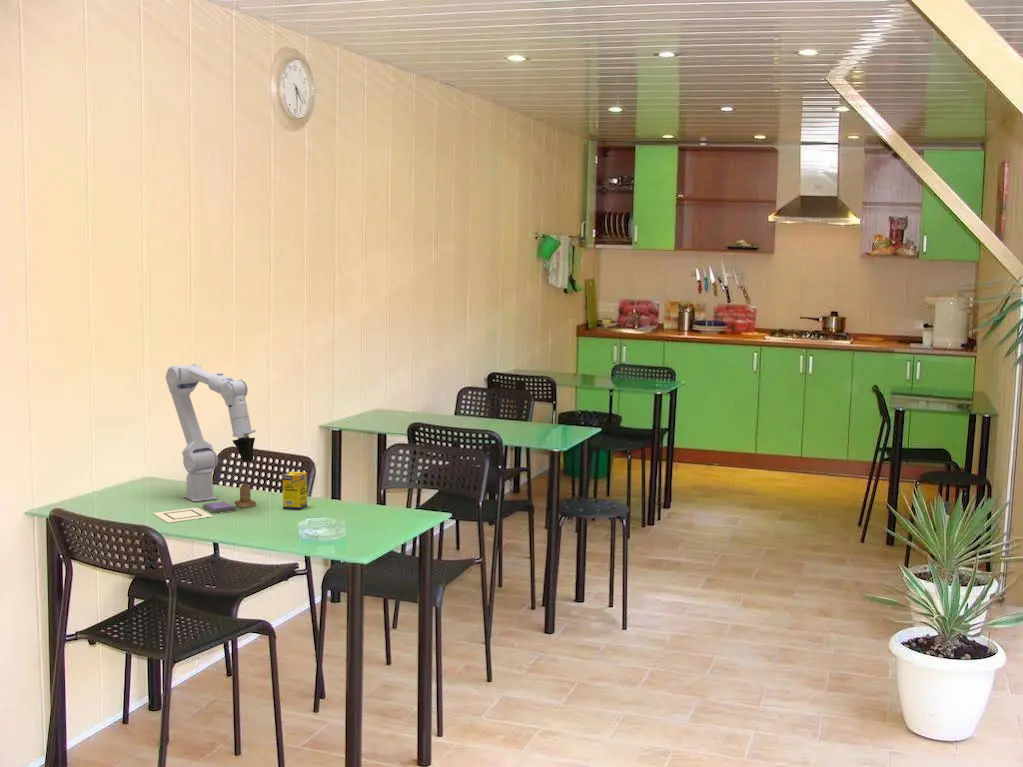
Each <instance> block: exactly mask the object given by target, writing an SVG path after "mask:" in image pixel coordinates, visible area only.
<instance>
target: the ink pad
mask: <svg viewBox="0 0 1023 767" xmlns="http://www.w3.org/2000/svg"><path fill="white" fill-rule="evenodd" d="M202 507H203V508H204V510H205V509H206V511H207V510H208V512H209V511H210V512H209V513H211V512H212V513H211V514H213V513H218V514H221V513H220V512H225V513H227V512H226V511H233V512H236V511H235V510H237V508H236V507H235V506H234V505H231V504H229V502H228V503H227V502H226V501H224V500H223V501H217V502H216V501H215V502H209V503H204V504H203V505H202Z"/></svg>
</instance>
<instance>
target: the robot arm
mask: <svg viewBox="0 0 1023 767" xmlns="http://www.w3.org/2000/svg"><path fill="white" fill-rule="evenodd" d="M165 381H166V384H167V387H168V390H169V393H170V394H171V397H172V401H173V404H174V407H175V411H176V413H177V417H178V420H179V424H180V428H181V429H182V433H183V435H184V439H185V442H186V444H187V445H186V446H185V448H184V449H183V450H182V451H181V452H182V453H181V454H182V460H183V461H182V462H183V463H182V464H183V467H184V469H185V470H186V472H187V474H186V494H184V495H183V497H184V498H185V499H188V500H190V501H191V502H194V503H195V502H196V501H197V502H205V501H211V500H212V499H213V500H217V499H218V497H217V496H215V495H214V490H213V489H214V488H213V487H214V486H213V484H214V482H213V481H214V480H213V477H214V476H213V472H214V471H215V468H216V467H217V466H218V463H219V459H218V458H219V457H218V454H217V453H216V451H215V450H214V448H213V445H212V444H211V443H209V442H208V441H206V440H204V436H203V434H202V431H201V427H200V424H199V421H198V418H197V415H196V412H195V408H194V406H193V403H192V400H191V396H190V395H191V393H192V392H193V391H194V390H195V389H196V387H197V386H198V384H199V383H202V384H205V385H207V386H208V388H209V390H210V391H213V392H214V393H216V394H217V393H218V394H220V395H221V397H222V399H223V400H224V404H225V405H226V406H227V409H228V415H229V419H230V424H231V431H232V437H233V438H237V439H232V443H233V444H234V446H235V447H236V449H237V451H238V453H239V455H240V458H241V460H242V462H243V463H248V462H253V461H254V445H255V444H254V443H255V441H256V438H255V437H250V435H251V434H253V433H256V431H257V430H256V429H252V426H251V420H250V416H249V410H248V405H247V401H246V396H247V395H248V386H247V383H246V382H245V381H244V380H243V379H237V380H235V379H233V377H230V376H229V377H228V376H225V375H224V372H220V371H219V372H216V373H211V372H209V371H207V370H205V369H203V368H202V367H201V365H198V364H196V363H195V364H194V363H193V364H187V365H177V366H175V365H171V366H169V367H168V368H167V371H166V374H165ZM204 500H205V501H204Z"/></svg>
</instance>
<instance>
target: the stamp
mask: <svg viewBox="0 0 1023 767" xmlns="http://www.w3.org/2000/svg"><path fill="white" fill-rule="evenodd" d="M235 504H236V505H237V507H238V506H239V507H238V508H240V507H245V508H251V506H253V507H256V506H257V501H256V500H253V499H251V486H250V485H249V483H248V484H247V483H243V484H241V485H240V487H239V499H238V500H234V505H235ZM236 505H235V506H236Z"/></svg>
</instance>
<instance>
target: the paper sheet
mask: <svg viewBox="0 0 1023 767" xmlns="http://www.w3.org/2000/svg"><path fill="white" fill-rule="evenodd" d="M152 515H154V516H156V517H157V518H159V519H160V520H162V521H163V522H165V523H168V524H172V523H179V522H186V520H187V521H192V520H193V519H194V520H200V519H199V518H202V519H208V518H207V517H209V518H213V517H214V515H212V514H210V513H209V512H207V511H204V510H203V509H201V508H198V507H191V508H189V507H188V508H183V509H182V508H181V509H174V510H168V511H160V512H152Z"/></svg>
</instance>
